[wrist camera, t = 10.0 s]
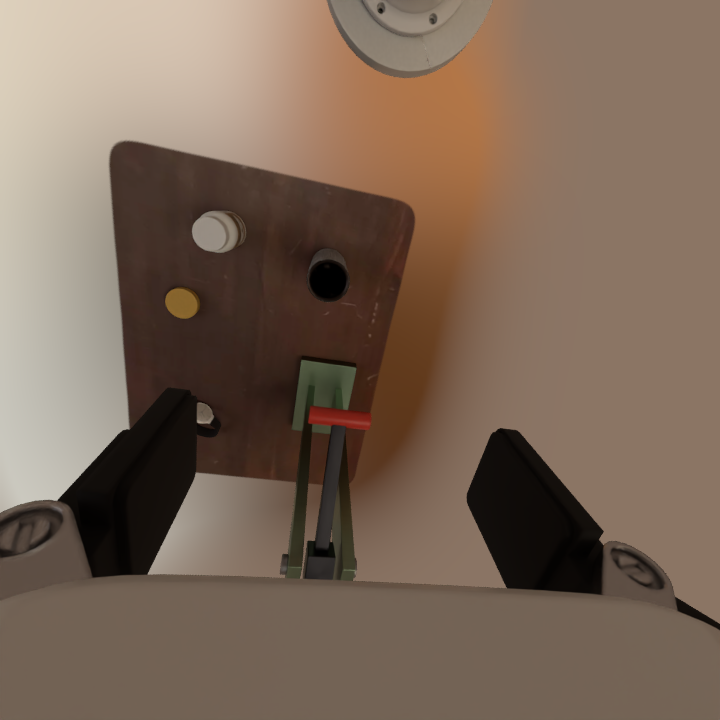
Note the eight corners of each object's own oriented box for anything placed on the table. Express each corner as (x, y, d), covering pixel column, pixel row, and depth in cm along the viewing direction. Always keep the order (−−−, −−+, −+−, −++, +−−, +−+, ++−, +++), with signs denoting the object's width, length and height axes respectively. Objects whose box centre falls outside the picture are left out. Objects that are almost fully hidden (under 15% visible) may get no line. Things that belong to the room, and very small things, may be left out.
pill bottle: (250, 246, 44) (235, 253, 37) (215, 250, 44) (194, 258, 37) (242, 208, 42) (224, 208, 35) (205, 212, 42) (181, 213, 35)
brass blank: (162, 294, 46) (158, 296, 45) (188, 281, 45) (185, 283, 44) (180, 321, 47) (177, 323, 46) (206, 309, 47) (203, 311, 46)
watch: (229, 417, 54) (222, 430, 50) (212, 436, 55) (204, 451, 52) (183, 389, 51) (174, 402, 48) (167, 410, 52) (156, 424, 49)
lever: (310, 403, 29) (310, 407, 27) (368, 410, 30) (373, 415, 28) (285, 573, 29) (283, 591, 26) (345, 576, 30) (348, 594, 27)
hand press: (302, 355, 51) (272, 527, 24) (355, 363, 52) (386, 535, 25) (292, 424, 55) (258, 634, 28) (342, 430, 56) (355, 636, 29)
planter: (319, 241, 45) (316, 251, 35) (351, 257, 46) (357, 270, 36) (305, 274, 46) (300, 291, 37) (336, 288, 47) (339, 309, 38)
